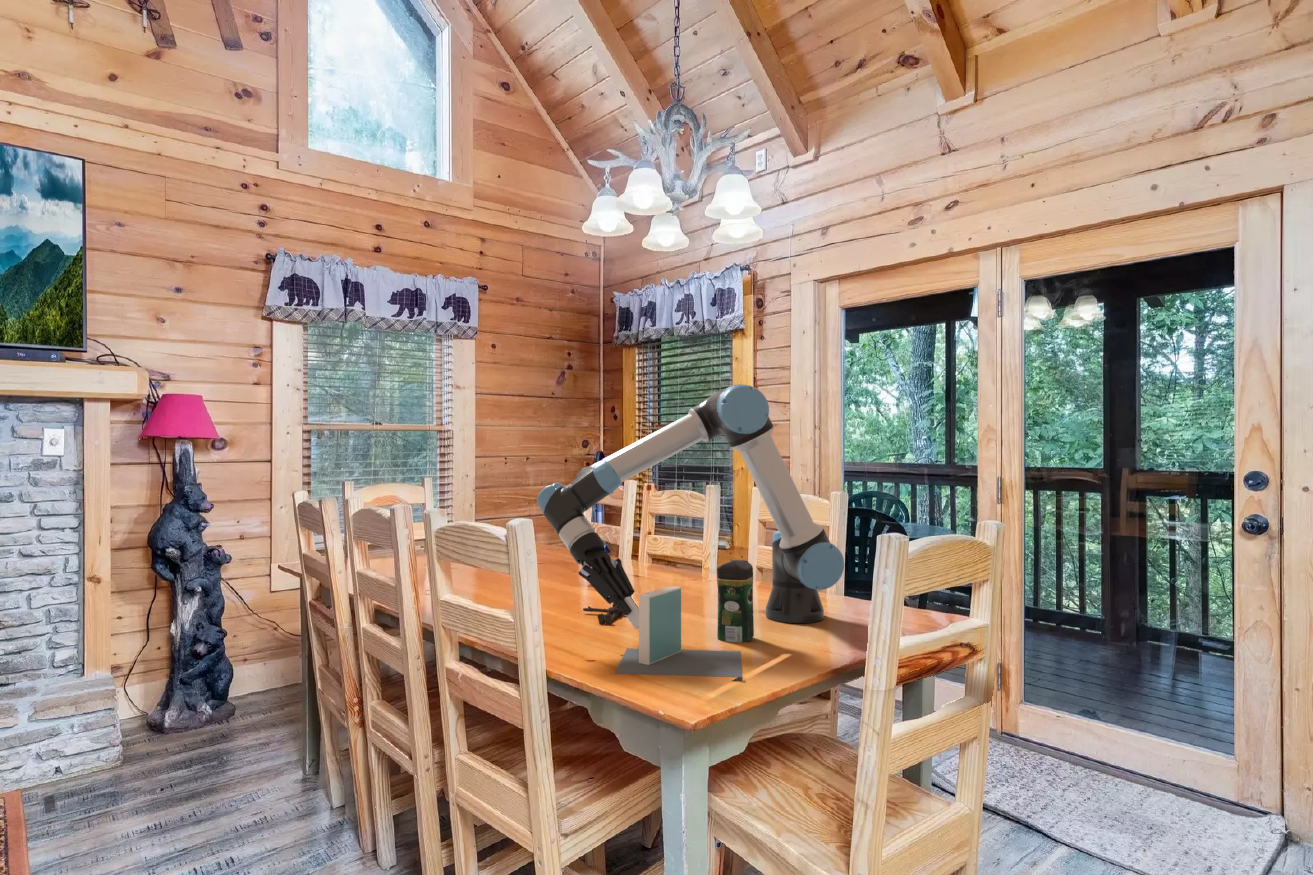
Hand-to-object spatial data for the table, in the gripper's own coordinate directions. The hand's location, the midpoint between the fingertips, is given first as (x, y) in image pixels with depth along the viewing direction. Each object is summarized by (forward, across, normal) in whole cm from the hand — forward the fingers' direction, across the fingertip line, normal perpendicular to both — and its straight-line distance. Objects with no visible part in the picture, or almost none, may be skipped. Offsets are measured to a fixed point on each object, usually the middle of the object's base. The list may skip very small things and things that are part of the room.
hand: (641, 624), depth 161 cm
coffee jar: (+12, -24, +2) cm, 27 cm away
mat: (+12, 0, +2) cm, 13 cm away
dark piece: (-14, -25, -25) cm, 38 cm away
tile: (+8, 0, -1) cm, 8 cm away
